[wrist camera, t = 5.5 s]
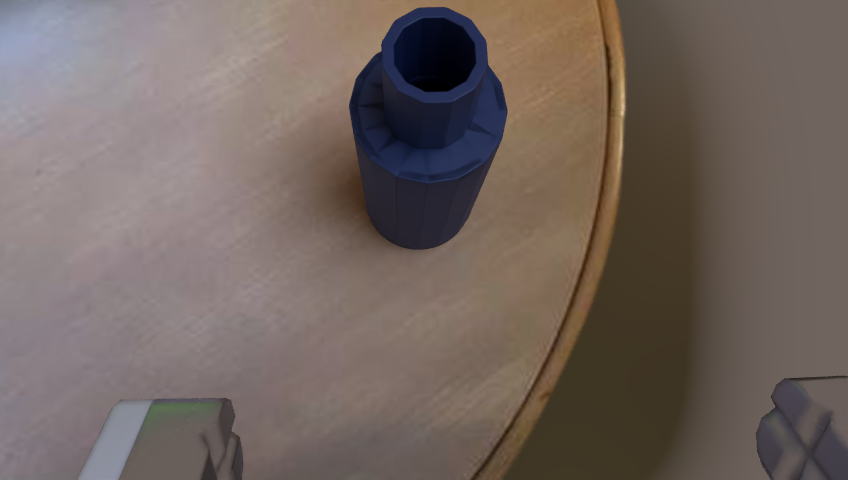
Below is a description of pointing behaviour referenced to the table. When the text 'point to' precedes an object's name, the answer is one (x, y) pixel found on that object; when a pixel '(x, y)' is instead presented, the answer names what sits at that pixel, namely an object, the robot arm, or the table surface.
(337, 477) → the table surface
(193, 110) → the table surface
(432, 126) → the bottle
